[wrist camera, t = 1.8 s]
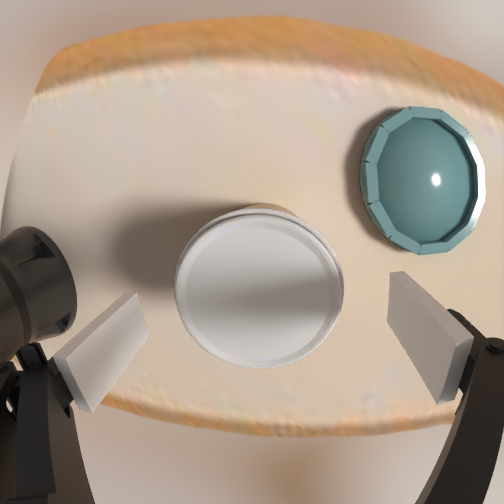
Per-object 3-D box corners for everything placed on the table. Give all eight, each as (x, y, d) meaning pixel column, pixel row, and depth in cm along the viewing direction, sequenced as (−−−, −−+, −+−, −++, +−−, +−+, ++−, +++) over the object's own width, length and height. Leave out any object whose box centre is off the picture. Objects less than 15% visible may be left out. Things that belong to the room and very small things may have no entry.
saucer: (363, 258, 26) (368, 263, 24) (350, 105, 22) (355, 102, 21) (476, 245, 24) (484, 249, 23) (470, 114, 21) (478, 113, 19)
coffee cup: (194, 252, 27) (140, 308, 16) (256, 172, 25) (240, 170, 13) (272, 311, 28) (268, 396, 16) (337, 238, 26) (381, 289, 14)
